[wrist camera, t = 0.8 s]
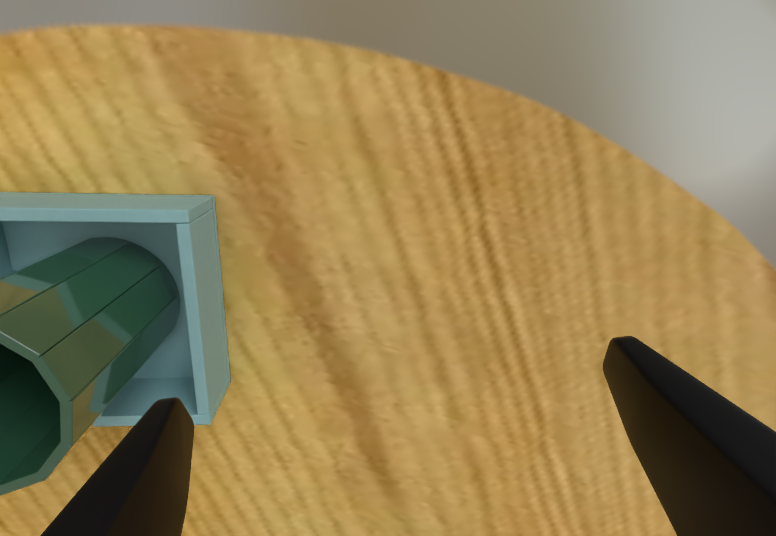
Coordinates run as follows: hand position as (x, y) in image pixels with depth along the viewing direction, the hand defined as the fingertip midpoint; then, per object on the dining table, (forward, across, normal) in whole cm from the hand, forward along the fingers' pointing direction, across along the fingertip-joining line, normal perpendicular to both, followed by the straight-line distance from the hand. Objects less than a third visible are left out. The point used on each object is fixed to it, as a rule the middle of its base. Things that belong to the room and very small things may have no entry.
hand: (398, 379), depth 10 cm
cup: (+13, +14, +7) cm, 21 cm away
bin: (+14, +14, +8) cm, 21 cm away
